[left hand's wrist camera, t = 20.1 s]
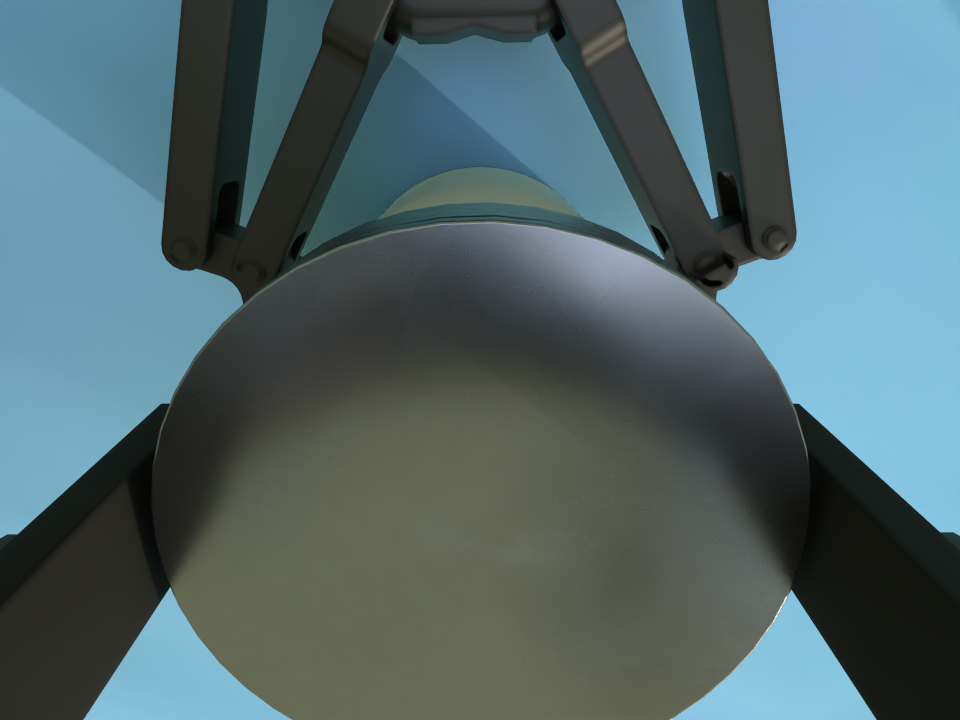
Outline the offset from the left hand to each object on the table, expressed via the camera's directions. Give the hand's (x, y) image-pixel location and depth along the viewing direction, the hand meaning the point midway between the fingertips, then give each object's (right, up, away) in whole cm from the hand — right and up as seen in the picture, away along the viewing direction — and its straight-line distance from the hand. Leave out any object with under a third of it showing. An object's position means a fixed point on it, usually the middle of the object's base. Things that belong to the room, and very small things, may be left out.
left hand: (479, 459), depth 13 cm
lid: (0, -1, -2) cm, 3 cm away
